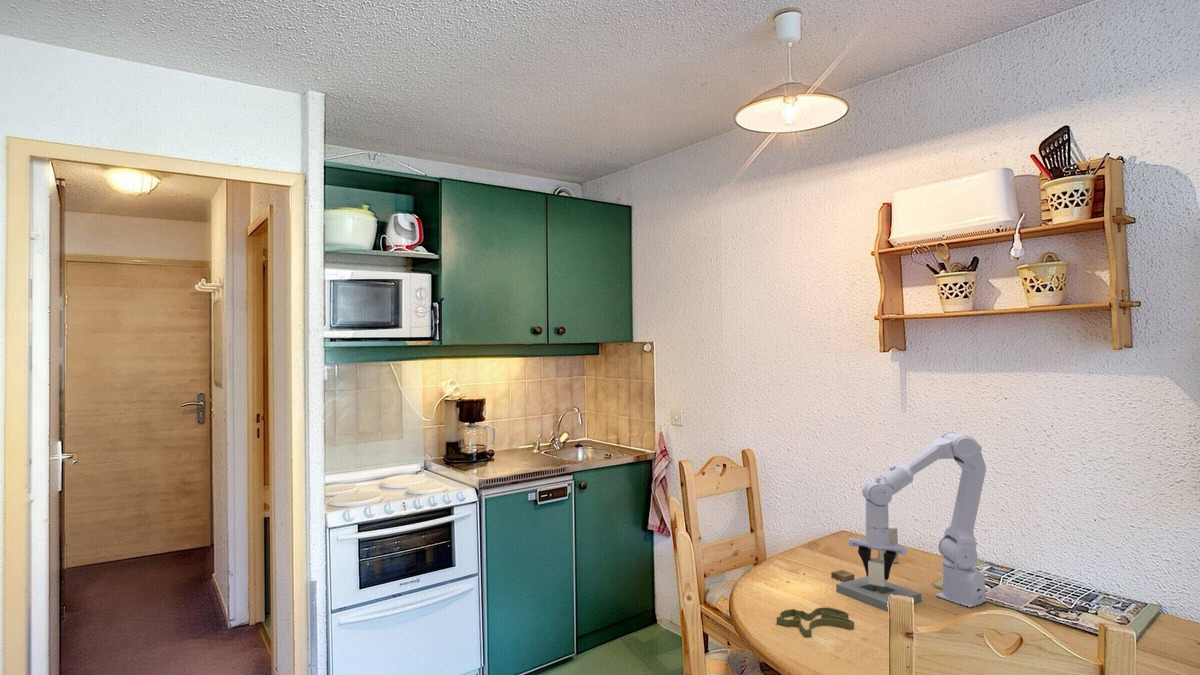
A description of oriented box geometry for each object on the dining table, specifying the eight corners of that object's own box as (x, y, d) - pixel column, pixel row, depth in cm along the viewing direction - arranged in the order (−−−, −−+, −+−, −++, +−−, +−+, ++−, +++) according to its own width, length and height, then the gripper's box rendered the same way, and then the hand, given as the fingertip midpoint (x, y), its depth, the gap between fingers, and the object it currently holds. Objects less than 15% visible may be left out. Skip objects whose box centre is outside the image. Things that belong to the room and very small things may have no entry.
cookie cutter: (799, 641, 147) (799, 632, 147) (769, 620, 158) (769, 612, 158) (862, 629, 153) (862, 621, 153) (829, 611, 164) (828, 603, 164)
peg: (887, 582, 174) (887, 560, 175) (884, 586, 171) (883, 564, 171) (871, 579, 177) (871, 557, 177) (868, 583, 173) (868, 561, 174)
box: (894, 559, 206) (893, 524, 206) (898, 563, 201) (898, 528, 202) (877, 558, 206) (876, 524, 206) (881, 562, 202) (881, 527, 202)
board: (921, 600, 170) (921, 593, 170) (887, 611, 163) (887, 603, 163) (869, 582, 184) (869, 575, 184) (836, 591, 177) (836, 584, 177)
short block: (854, 581, 186) (854, 574, 187) (844, 583, 184) (844, 576, 184) (841, 576, 190) (841, 569, 190) (831, 579, 188) (831, 572, 188)
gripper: (909, 527, 173) (909, 578, 173) (853, 519, 182) (853, 567, 181) (904, 533, 168) (904, 585, 167) (846, 524, 176) (847, 574, 176)
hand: (877, 576), depth 174 cm, fingers closed on peg, 4 cm apart
